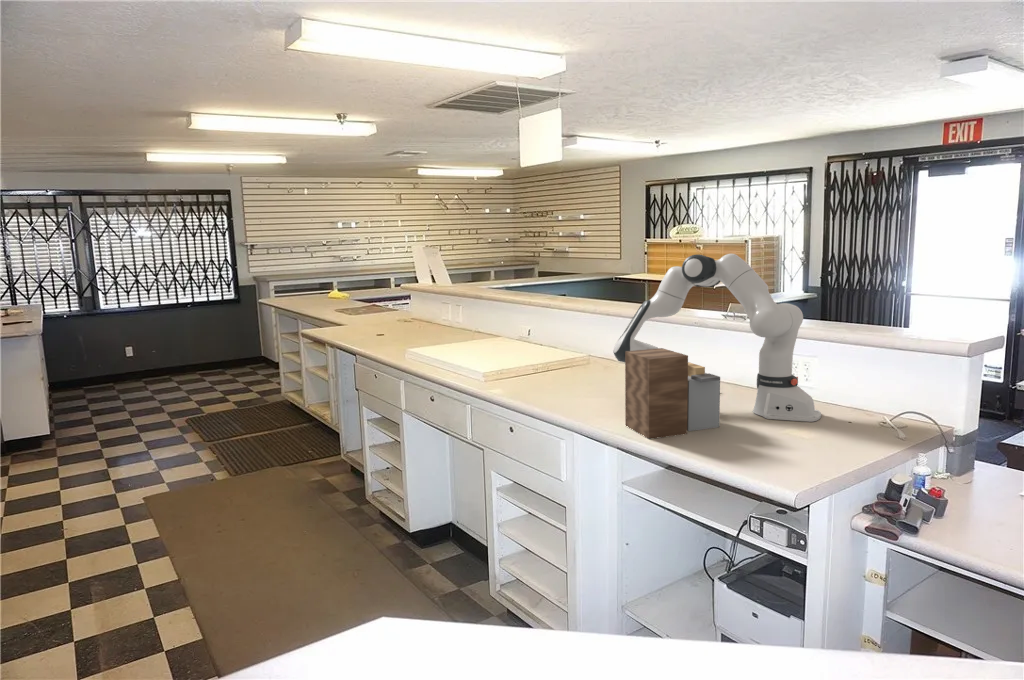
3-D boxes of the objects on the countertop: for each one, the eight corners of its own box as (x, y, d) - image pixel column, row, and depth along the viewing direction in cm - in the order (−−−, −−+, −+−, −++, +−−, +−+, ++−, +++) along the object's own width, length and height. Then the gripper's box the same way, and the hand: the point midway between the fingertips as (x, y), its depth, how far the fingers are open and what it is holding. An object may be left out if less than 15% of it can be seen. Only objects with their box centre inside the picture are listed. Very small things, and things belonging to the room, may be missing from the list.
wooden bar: (656, 367, 240) (656, 357, 239) (673, 365, 242) (673, 356, 241) (701, 382, 213) (701, 371, 213) (720, 380, 215) (720, 369, 215)
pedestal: (625, 426, 226) (625, 351, 222) (661, 421, 231) (661, 348, 227) (649, 439, 211) (649, 359, 207) (687, 433, 216) (688, 355, 212)
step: (665, 420, 232) (666, 373, 229) (695, 416, 235) (696, 369, 233) (688, 431, 219) (688, 380, 216) (719, 427, 222) (720, 377, 220)
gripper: (625, 363, 247) (641, 350, 235) (673, 359, 254) (691, 346, 241) (629, 379, 245) (645, 367, 233) (677, 374, 252) (696, 362, 239)
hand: (669, 356), depth 237 cm, fingers open, 8 cm apart
